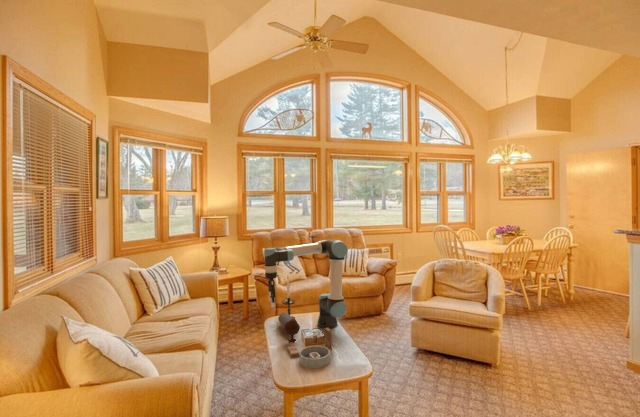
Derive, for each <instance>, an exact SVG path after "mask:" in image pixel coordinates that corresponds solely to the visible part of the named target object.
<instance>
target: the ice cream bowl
mask: <svg viewBox="0 0 640 417" xmlns="http://www.w3.org/2000/svg"><path fill="white" fill-rule="evenodd" d="M300 329H301V326H300V324H299V323H298V321H297V320H296V318H295V319H291V320H290V321H287V322H286V324H285V326H284V328H283V330H284V332H285V333H286V334H287V335H288V336H290V338H289V339H288V341H289V342H288V343H290V342H293V343H296V342H297V341H296V340H297V338H294V336H295V335H297V334H298V333H299V331H300ZM295 341H296V342H295Z"/></svg>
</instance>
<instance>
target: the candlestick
mask: <svg viewBox="0 0 640 417" xmlns="http://www.w3.org/2000/svg"><path fill="white" fill-rule="evenodd" d="M286 290H287V291H286V292H287V293H286V295H287V297H286V298H285V299H283V300H282V301H281V304H282V305H284V306H287V314H288V315H290V316H291V314H292V312H291V311H292V310H291V305H294V304H296V300H295V299H293V298H292V297H291V294H290V292H291V291H290V290H291V289H290V280H289V276H287V280H286ZM291 317H292V319H295V320H296V317H295V316H293V315H292V316H291Z"/></svg>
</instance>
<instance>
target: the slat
mask: <svg viewBox="0 0 640 417" xmlns="http://www.w3.org/2000/svg"><path fill="white" fill-rule="evenodd" d="M286 347H287V348H286V350H287V352H288V354H289V356H290V358H297V357H298V358H299V353H300V351H299V349H298V348H297V346H296V344H293V345H292V344H291V345H287V346H286Z"/></svg>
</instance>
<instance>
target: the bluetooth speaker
mask: <svg viewBox="0 0 640 417" xmlns="http://www.w3.org/2000/svg"><path fill="white" fill-rule="evenodd" d="M291 319H292V317H291V314H290V315H288V312H281V313H280V314H279V315H278V322H279V324H280V326H281V327H282V329H284V326H285V324H286V322H287V321H290V320H291Z"/></svg>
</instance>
